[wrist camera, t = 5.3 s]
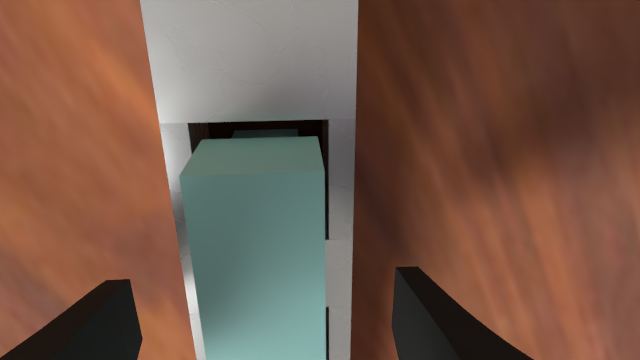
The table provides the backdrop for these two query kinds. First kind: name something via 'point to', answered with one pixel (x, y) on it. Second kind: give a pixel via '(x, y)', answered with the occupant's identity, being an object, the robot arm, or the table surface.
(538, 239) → the table surface
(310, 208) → the teal block
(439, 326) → the robot arm
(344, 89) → the rail
